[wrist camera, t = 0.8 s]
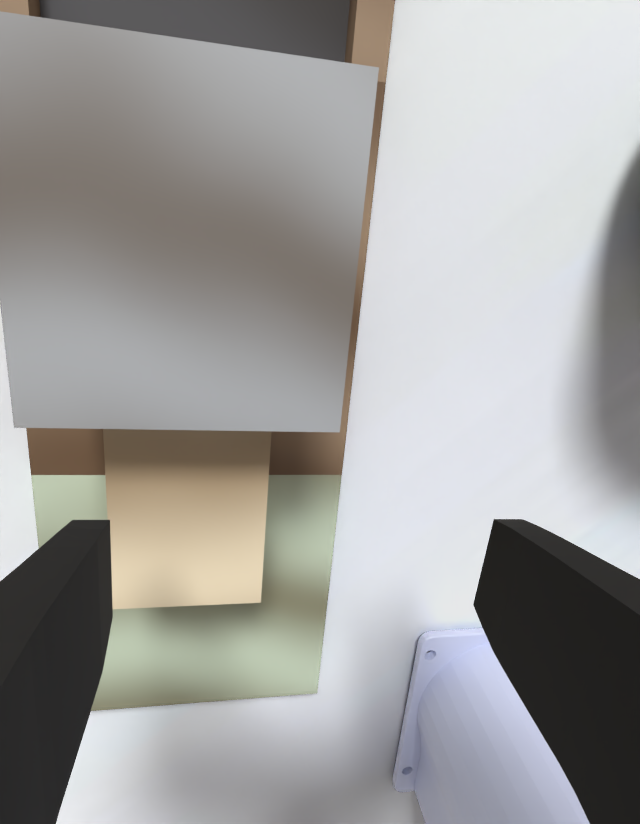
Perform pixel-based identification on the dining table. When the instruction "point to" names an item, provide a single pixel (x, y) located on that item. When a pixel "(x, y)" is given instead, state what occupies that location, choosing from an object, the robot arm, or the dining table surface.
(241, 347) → the tunnel deck
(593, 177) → the dining table surface
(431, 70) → the dining table surface
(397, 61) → the dining table surface
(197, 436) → the maple bar
